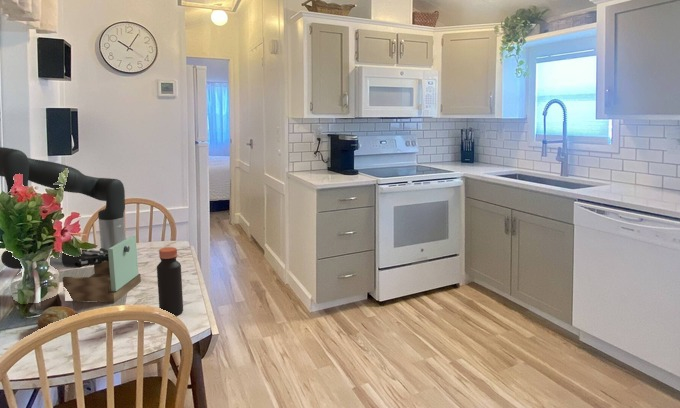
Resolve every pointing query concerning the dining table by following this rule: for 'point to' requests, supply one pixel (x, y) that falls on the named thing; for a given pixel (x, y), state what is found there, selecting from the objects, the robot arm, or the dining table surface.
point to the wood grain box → (97, 286)
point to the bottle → (170, 281)
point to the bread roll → (54, 315)
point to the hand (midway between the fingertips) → (118, 257)
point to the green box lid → (123, 262)
